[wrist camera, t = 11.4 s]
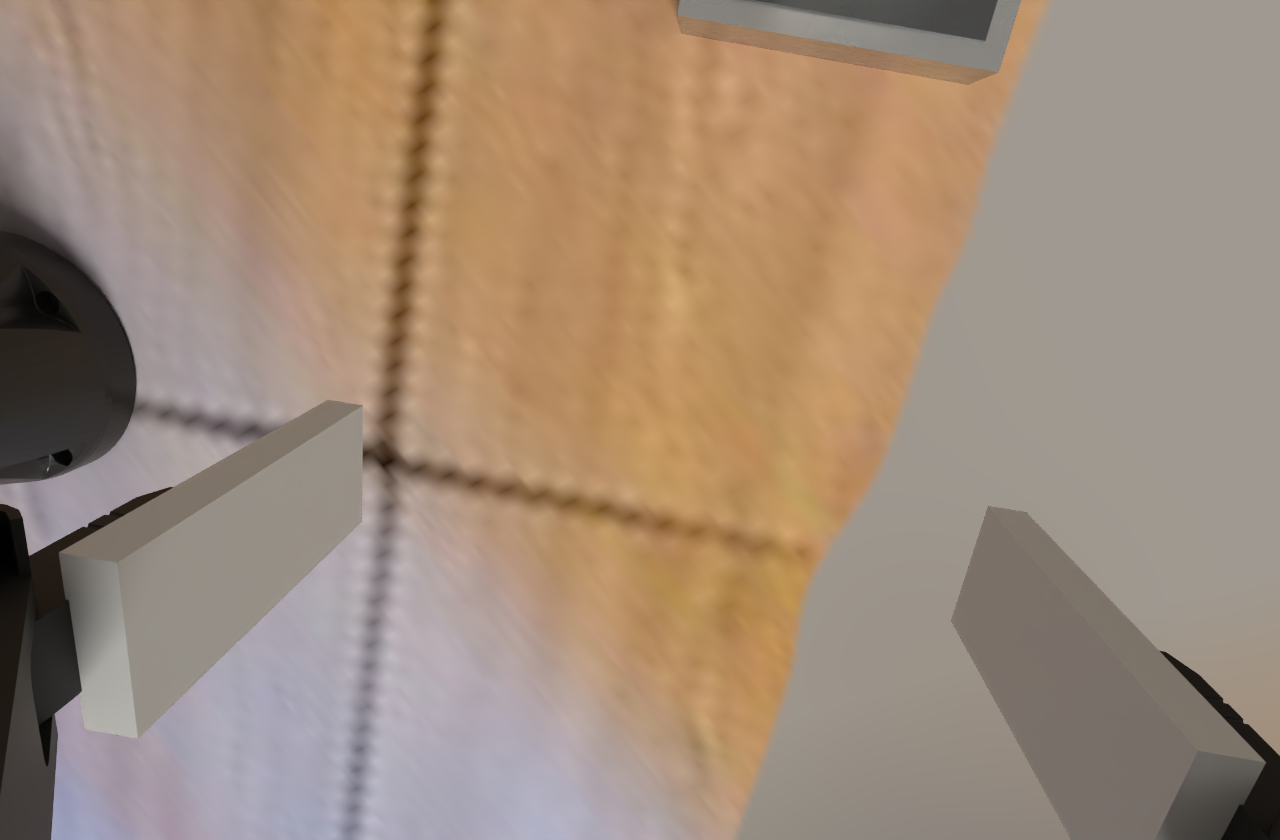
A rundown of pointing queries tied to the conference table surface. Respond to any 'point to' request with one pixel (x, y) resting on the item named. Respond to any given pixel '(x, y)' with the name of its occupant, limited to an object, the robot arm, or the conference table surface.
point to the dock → (867, 31)
